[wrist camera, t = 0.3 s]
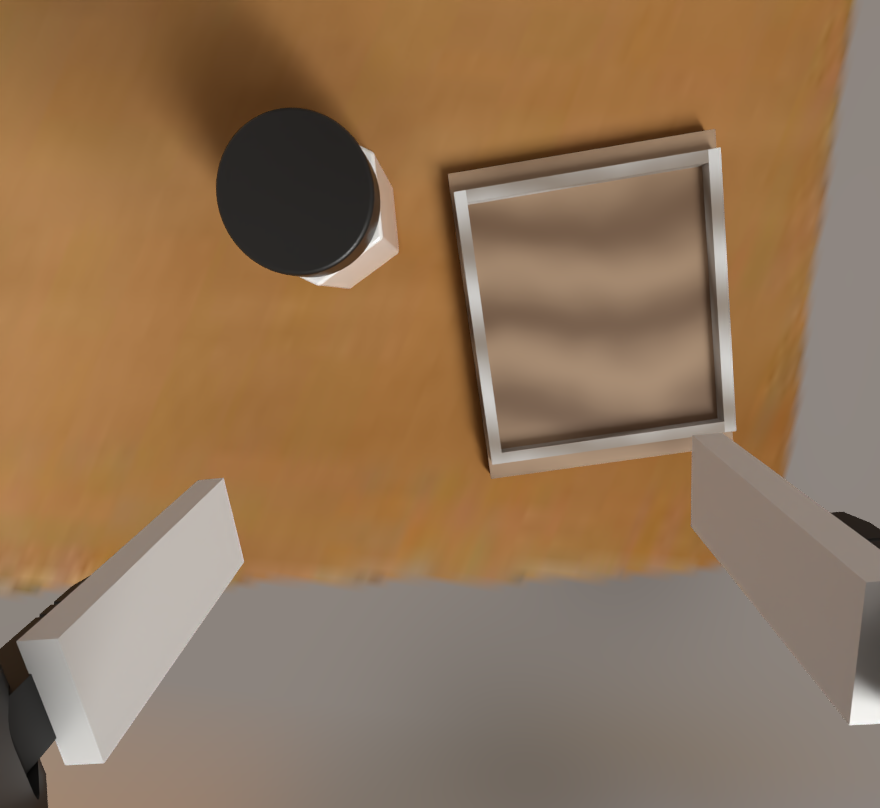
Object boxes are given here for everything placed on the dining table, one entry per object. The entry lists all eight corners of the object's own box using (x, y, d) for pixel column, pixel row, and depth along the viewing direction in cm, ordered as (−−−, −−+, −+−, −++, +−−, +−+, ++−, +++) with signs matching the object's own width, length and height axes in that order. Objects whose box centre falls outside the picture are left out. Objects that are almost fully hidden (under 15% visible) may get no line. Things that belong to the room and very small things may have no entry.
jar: (358, 136, 38) (314, 63, 26) (425, 235, 39) (412, 207, 27) (258, 214, 39) (174, 176, 27) (326, 308, 40) (274, 311, 28)
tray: (448, 177, 38) (447, 170, 36) (707, 134, 37) (722, 124, 35) (490, 473, 42) (492, 483, 40) (725, 441, 41) (740, 449, 39)
